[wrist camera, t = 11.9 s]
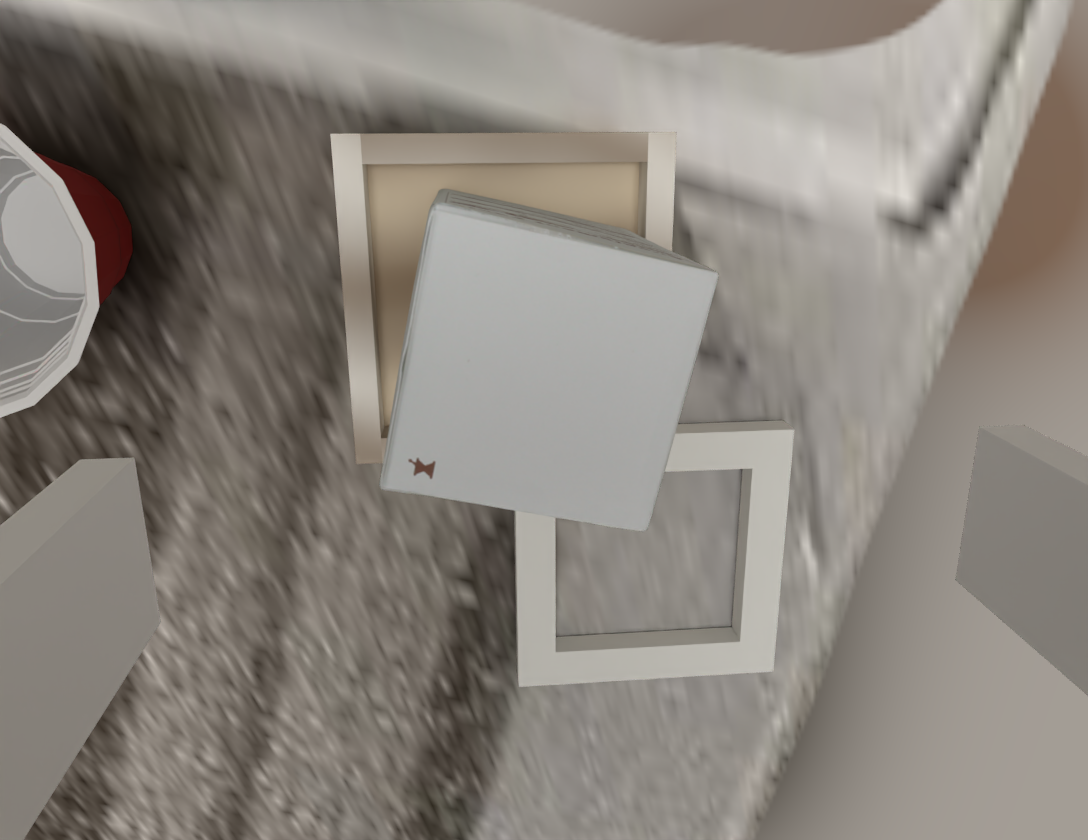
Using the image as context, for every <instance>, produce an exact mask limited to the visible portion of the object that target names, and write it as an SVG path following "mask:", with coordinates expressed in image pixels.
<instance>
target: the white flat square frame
mask: <svg viewBox="0 0 1088 840" xmlns="http://www.w3.org/2000/svg"><path fill="white" fill-rule="evenodd" d="M793 438H794V429H793V428H792V427H791V426H790V425H788V424H787V423H786V422H785V421H784V420H779V421H750V422H722V423H694V424H678V426H677V430H676V433H675V437H674V440H673V444H672V447H671V451H670V455H669V458H668V462H667V465H666V469H665V472H677V471H702V470H727V469H742V483H741V498H740V512H739V527H738V542H737V556H736V571H735V586H734V600H733V615H732V627H723V628H705V629H687V630H669V631H652V632H634V633H616V634H598V635H580V636H563V637H556V563H555V517H549V516H543V515H537V514H532V513H526V512H520V511H514V542H515V596H516V649H517V676H518V686H519V687H528V686H545V685H561V684H578V683H594V682H610V681H627V680H643V679H660V678H676V677H692V676H709V675H725V674H742V673H758V672H773V669H774V657H775V646H776V634H777V623H778V611H779V600H780V588H781V577H782V565H783V554H784V542H785V530H786V519H787V507H788V496H789V484H790V473H791V461H792V450H793Z"/></svg>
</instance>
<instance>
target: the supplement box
mask: <svg viewBox="0 0 1088 840" xmlns="http://www.w3.org/2000/svg"><path fill="white" fill-rule="evenodd" d="M718 278H719V274H718V273H717V272H716V271H714V270H712V269H710V268H708V267H706V266H704V265H702V264H699V263H697V262H695V261H692V260H691V259H688V258H686V257H684V256H682V255H679V254H677V253H675V252H672V251H670V250H667V249H665V248H663V247H661V246H659V245H657V244H655V243H653V242H651V241H649V240H647V239H645V238H643V237H641V236H639V235H637V234H635V233H633V232H631V231H629V230H627V229H624V228H620V227H615V226H611V225H606V224H602V223H598V222H593V221H589V220H585V219H581V218H576V217H572V216H568V215H564V214H559V213H555V212H551V211H546V210H542V209H537V208H533V207H529V206H524V205H520V204H516V203H511V202H506V201H501V200H497V199H492V198H487V197H483V196H478V195H474V194H469V193H464V192H459V191H455V190H450V189H440V190H439V191H438V194H437V196H436V198H435V200H434V201H433V203H432V205H431V207H430V209H429V213H428V218H427V222H426V227H425V232H424V237H423V241H422V246H421V251H420V256H419V261H418V266H417V271H416V276H415V281H414V286H413V292H412V297H411V302H410V308H409V313H408V318H407V324H406V329H405V334H404V340H403V346H402V352H401V358H400V364H399V370H398V376H397V382H396V388H395V394H394V400H393V406H392V412H391V418H390V425H389V431H388V437H387V442H386V448H385V454H384V460H383V466H382V471H381V476H380V482H379V485H380V488H381V489H382V490H387V491H394V492H401V493H408V494H414V495H421V496H428V497H434V498H441V499H448V500H454V501H461V502H467V503H474V504H480V505H486V506H491V507H497V508H502V509H508V510H514V511H520V512H526V513H532V514H537V515H543V516H549V517H555V518H561V519H567V520H573V521H579V522H585V523H590V524H596V525H602V526H607V527H614V528H620V529H626V530H633V531H641V532H644V531H646V530H648V526H649V523H650V520H651V517H652V513H653V510H654V507H655V503H656V500H657V497H658V493H659V490H660V486H661V483H662V480H663V476H664V473H665V469H666V465H667V462H668V458H669V455H670V451H671V447H672V444H673V440H674V437H675V433H676V430H677V426H678V422H679V419H680V415H681V412H682V408H683V405H684V401H685V398H686V394H687V390H688V387H689V383H690V380H691V376H692V373H693V369H694V366H695V362H696V358H697V355H698V351H699V347H700V343H701V340H702V336H703V332H704V329H705V325H706V321H707V318H708V314H709V310H710V307H711V303H712V299H713V295H714V291H715V288H716V285H717V282H718Z"/></svg>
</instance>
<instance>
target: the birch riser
mask: <svg viewBox="0 0 1088 840" xmlns="http://www.w3.org/2000/svg"><path fill="white" fill-rule="evenodd" d="M676 133H677V132H580V133H399V134H330V135H331V148H332V161H333V174H334V186H335V199H336V212H337V225H338V238H339V250H340V263H341V276H342V289H343V302H344V314H345V327H346V340H347V353H348V366H349V379H350V391H351V404H352V417H353V430H354V443H355V455H356V464H369V463H383V460H384V454H385V448H386V442H387V437H388V431H389V425H390V418H391V412H392V406H393V400H394V394H395V388H396V382H397V376H398V370H399V364H400V358H401V352H402V346H403V340H404V334H405V329H406V324H407V318H408V313H409V308H410V302H411V297H412V292H413V286H414V281H415V276H416V271H417V266H418V261H419V256H420V251H421V246H422V241H423V237H424V232H425V227H426V222H427V218H428V213H429V209H430V207H431V205H432V203H433V201H434V200H435V198H436V196H437V194H438V191H439V190H440V189H450V190H455V191H459V192H464V193H469V194H474V195H478V196H483V197H487V198H492V199H497V200H501V201H506V202H511V203H516V204H520V205H524V206H529V207H533V208H537V209H542V210H546V211H551V212H555V213H559V214H564V215H568V216H572V217H576V218H581V219H585V220H589V221H593V222H598V223H602V224H606V225H611V226H615V227H620V228H624V229H627V230H629V231H631V232H633V233H635V234H637V235H639V236H641V237H643V238H645V239H647V240H649V241H651V242H653V243H655V244H657V245H659V246H661V247H663V248H665V249H667V250H670V251H672V238H673V211H674V185H675V159H676Z"/></svg>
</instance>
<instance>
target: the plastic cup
mask: <svg viewBox="0 0 1088 840" xmlns="http://www.w3.org/2000/svg"><path fill="white" fill-rule="evenodd" d="M132 251H133V244H132V230H131V224H130V222H129V220H128V217H127V215H126V213H125V211H124V209H123V207H122V205H121V203H120V201H119V200H118V199H117V198H116V197H115V196H114V195H113V194H112V193H111V192H110V191H109V190H108V189H107V188H106V187H105V186H104V185H103V184H102V183H101V182H100V181H98V180H97V179H96V178H94V177H92V176H90V175H88V174H86V173H84V172H81V171H79V170H77V169H75V168H73V167H71V166H68V165H65V164H62V163H59V162H57V161H54V160H52V159H50V158H48V157H46V156H43V155H41V154H39V153H36V152H33V151H32V150H31V149H30V148H28V147H27V146H26V145H25V144H24V143H23V142H22V141H21V140H20V139H19V138H18V137H17V136H16V135H15V134H14V133H12V132H11V131H10V130H9V129H8V128H7V127H6V126H5V125H2V124H0V417H3V416H6V415H8V414H11V413H14V412H17V411H19V410H22V409H25V408H28V407H31V406H33V405H35V404H36V403H37V402H38V401H39V400H40V399H41V398H42V397H43V396H44V395H45V394H47V393H48V392H49V391H50V390H51V389H52V388H53V387H54V386H55V385H56V384H57V383H58V382H59V381H60V380H61V379H62V378H63V377H64V376H65V375H67V374H68V373H69V372H70V371H71V370H72V369H73V368H74V367H75V366H76V365H77V364H78V362H79V360H80V357H81V355H82V352H83V349H84V347H85V344H86V341H87V339H88V336H89V333H90V331H91V328H92V325H93V323H94V320H95V317H96V315H97V312H98V309H99V306H100V305H101V304H102V303H103V301H104V300H105V299H106V298H107V297H108V296H109V295H110V294H111V291H112V288H113V287H114V286H115V285H116V284H117V283H118V282H119V281H120V280H121V279H122V278H123V277H124V274H125V272H126V269H127V266H128V263H129V261H130V258H131V255H132Z"/></svg>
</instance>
